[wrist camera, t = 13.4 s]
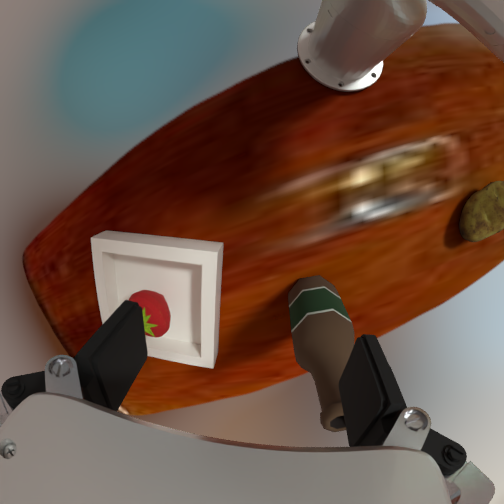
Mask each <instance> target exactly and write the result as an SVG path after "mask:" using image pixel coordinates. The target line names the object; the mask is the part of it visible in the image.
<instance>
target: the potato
mask: <svg viewBox="0 0 504 504" xmlns="http://www.w3.org/2000/svg"><path fill="white" fill-rule="evenodd" d="M459 229H460V233H461V236H462V237H463V238H464V239H466V240H468V241H470V242H477V241H480V240H482V239H485V238H487V237H489V236H491V235H493V234H495V233H498V232H500V231H501V230H503V229H504V181H496V182H491V183H490V184H488V185H487V186H485V187H484V188H483V189H482V190H480V191H478V192H476V193H474V194H473V195H472V196H471V197H470V198H469V199H468V201H467V202H466V204H465V206H464V208H463V210H462V213H461V217H460V222H459Z"/></svg>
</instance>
